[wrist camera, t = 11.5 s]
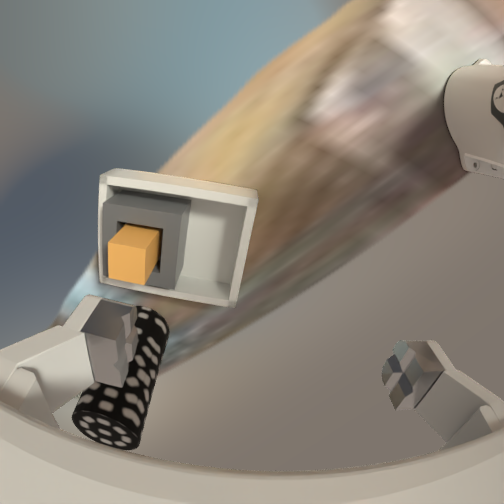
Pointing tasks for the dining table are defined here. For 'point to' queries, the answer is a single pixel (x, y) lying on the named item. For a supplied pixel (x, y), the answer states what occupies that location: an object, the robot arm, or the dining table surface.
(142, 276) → the plug
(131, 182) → the bay
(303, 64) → the dining table surface
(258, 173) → the dining table surface
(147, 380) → the white-spotted black cylinder
